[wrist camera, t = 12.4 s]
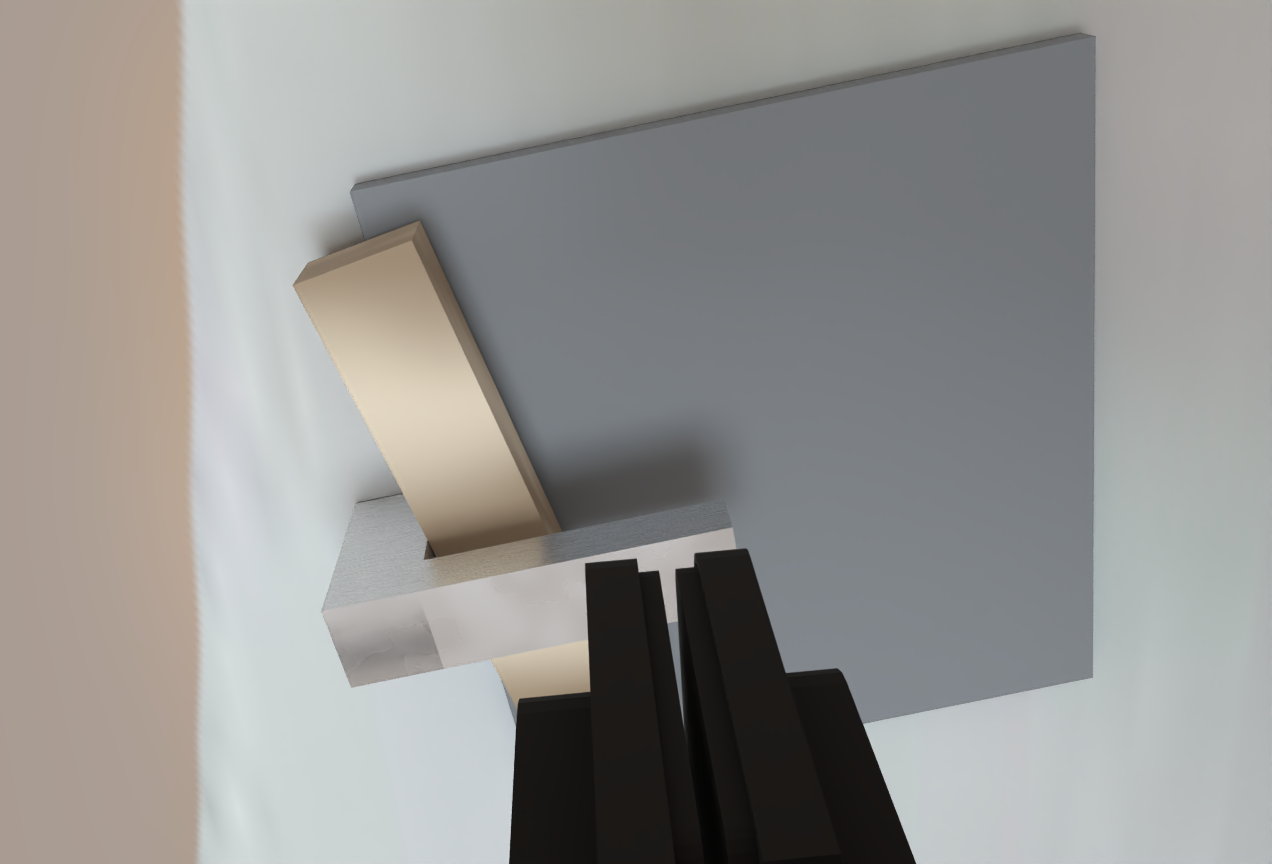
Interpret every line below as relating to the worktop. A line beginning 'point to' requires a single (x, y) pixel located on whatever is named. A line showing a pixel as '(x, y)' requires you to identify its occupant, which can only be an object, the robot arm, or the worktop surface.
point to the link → (436, 416)
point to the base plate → (818, 353)
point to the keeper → (488, 586)
